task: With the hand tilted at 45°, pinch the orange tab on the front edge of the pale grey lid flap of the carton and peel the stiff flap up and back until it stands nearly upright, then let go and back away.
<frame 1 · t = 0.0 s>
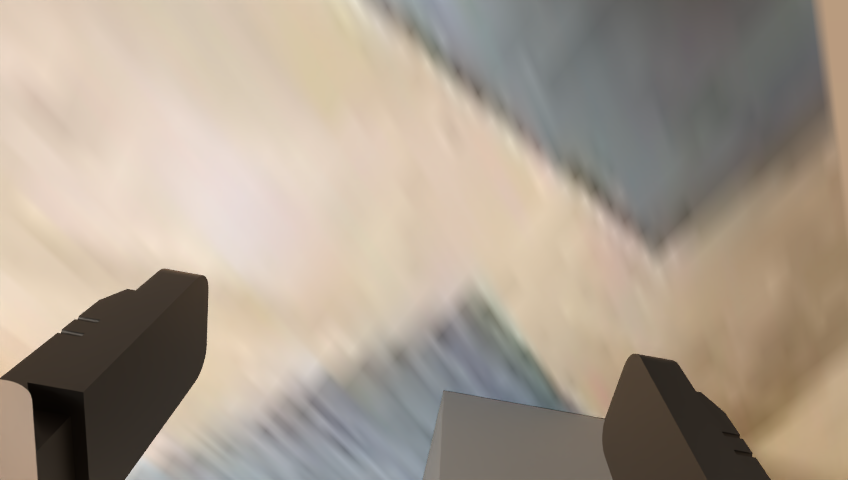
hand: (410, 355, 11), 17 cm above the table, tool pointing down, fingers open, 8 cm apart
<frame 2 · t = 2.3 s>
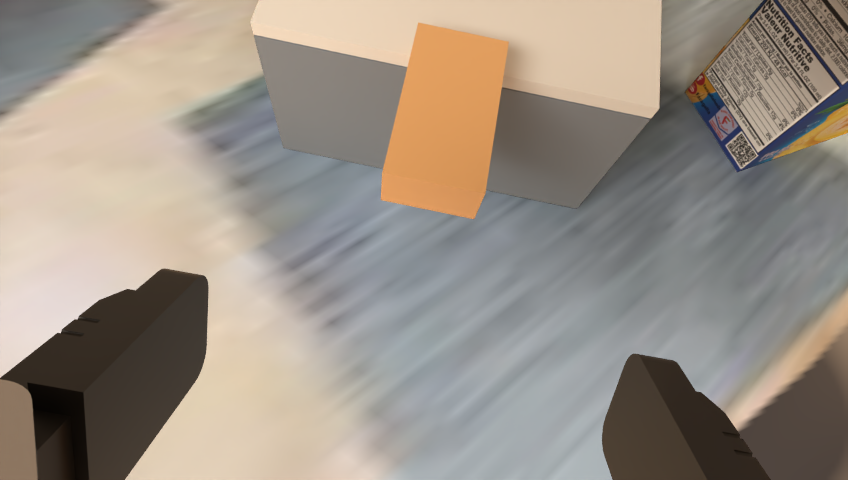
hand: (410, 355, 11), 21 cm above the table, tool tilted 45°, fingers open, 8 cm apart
carton: (450, 77, 39), on the table
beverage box: (769, 112, 40), on the table
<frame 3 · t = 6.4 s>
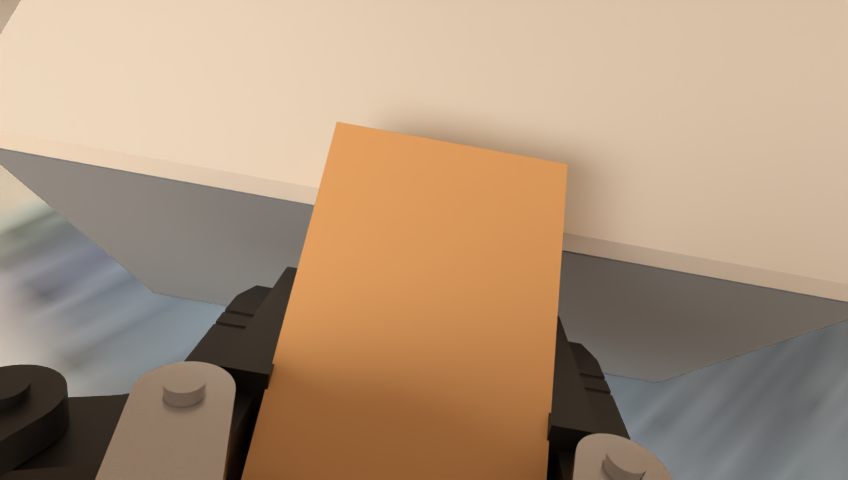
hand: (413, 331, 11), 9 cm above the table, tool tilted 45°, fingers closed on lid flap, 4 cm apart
carton: (438, 156, 24), on the table
lid flap: (470, 19, 12), point 11 cm above the table, hinge at 0.0°, touching gripper
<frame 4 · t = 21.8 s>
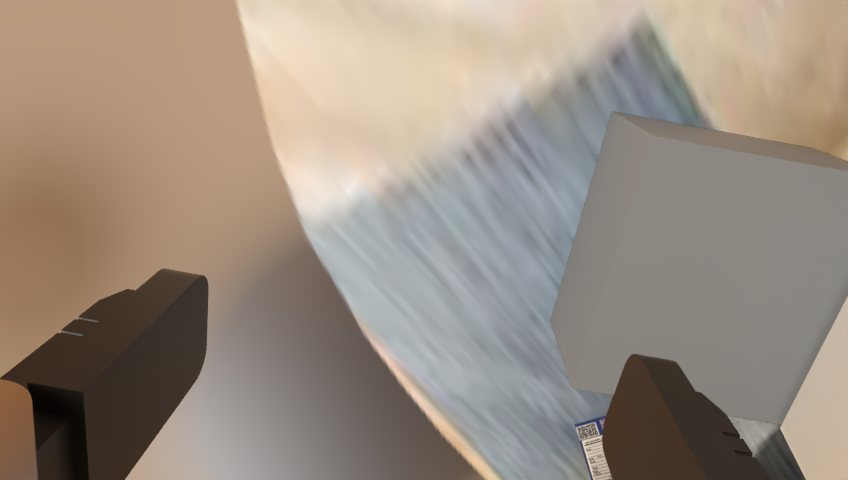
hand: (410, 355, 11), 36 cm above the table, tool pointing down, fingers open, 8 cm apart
carton: (671, 240, 47), on the table
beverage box: (623, 454, 56), on the table
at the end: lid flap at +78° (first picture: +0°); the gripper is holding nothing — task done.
